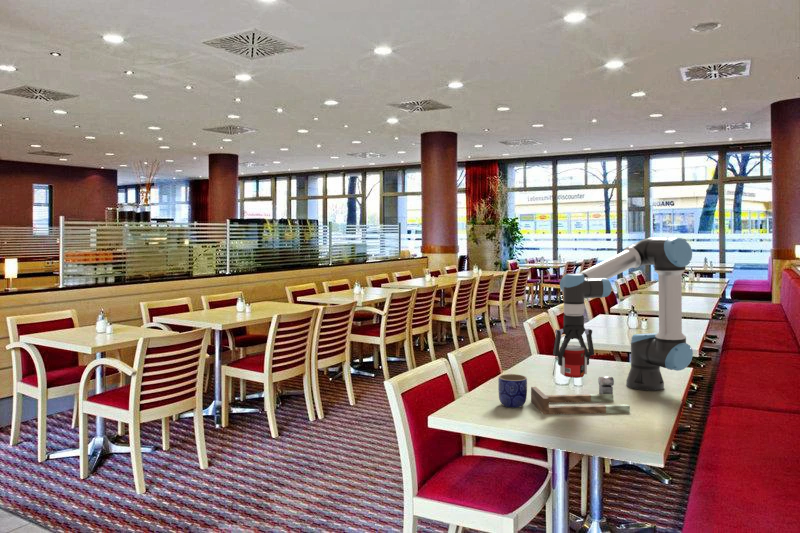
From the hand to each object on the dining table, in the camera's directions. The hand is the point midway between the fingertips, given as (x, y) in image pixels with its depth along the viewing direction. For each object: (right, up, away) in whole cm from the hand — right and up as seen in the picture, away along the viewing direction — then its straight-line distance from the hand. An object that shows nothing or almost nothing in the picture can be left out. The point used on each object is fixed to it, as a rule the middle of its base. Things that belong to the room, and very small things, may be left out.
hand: (573, 373), depth 232 cm
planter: (-23, -13, +3) cm, 27 cm away
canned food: (0, -1, 0) cm, 1 cm away
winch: (+17, -12, +13) cm, 25 cm away
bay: (+2, -13, +1) cm, 13 cm away
